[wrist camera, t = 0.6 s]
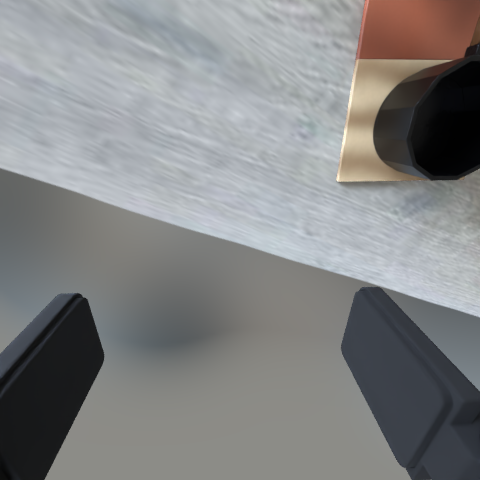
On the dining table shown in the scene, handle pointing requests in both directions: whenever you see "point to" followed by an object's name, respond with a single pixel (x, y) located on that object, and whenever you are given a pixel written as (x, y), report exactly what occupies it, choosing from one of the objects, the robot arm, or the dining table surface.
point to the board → (397, 69)
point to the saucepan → (434, 120)
